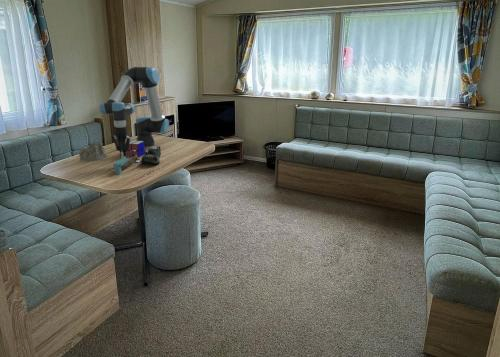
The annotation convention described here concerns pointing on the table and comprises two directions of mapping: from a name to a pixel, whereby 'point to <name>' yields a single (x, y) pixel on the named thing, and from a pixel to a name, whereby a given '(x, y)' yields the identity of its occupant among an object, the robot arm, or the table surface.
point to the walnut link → (130, 161)
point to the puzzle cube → (136, 148)
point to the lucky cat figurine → (152, 155)
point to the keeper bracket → (119, 165)
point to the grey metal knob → (134, 155)
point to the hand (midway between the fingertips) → (123, 160)
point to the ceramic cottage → (93, 152)
